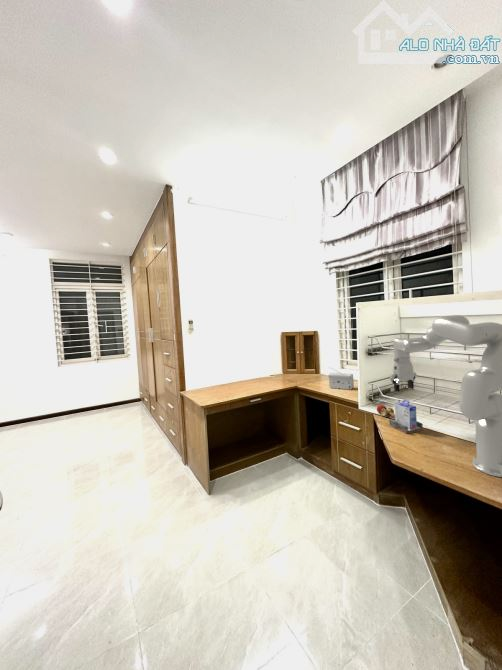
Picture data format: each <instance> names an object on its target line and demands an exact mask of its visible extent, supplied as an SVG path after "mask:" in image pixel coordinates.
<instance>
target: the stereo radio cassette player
mask: <svg viewBox="0 0 502 670" xmlns="http://www.w3.org/2000/svg"><path fill="white" fill-rule="evenodd" d="M328 368H330V369H332V370H333V371H335V372H330V373H328V374H327V376H328V386H329V387H328V388H330V389H337V388H340V389H339V390H348V389H351V390H353V389H354V387H355V385H354V384H355V383H354V382H355V381H354V374H352V373H342V372H340V371H338V370H336V369H335V368H332V367H330V366H329V367H328Z"/></svg>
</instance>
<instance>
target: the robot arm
mask: <svg viewBox="0 0 502 670" xmlns="http://www.w3.org/2000/svg"><path fill="white" fill-rule="evenodd" d="M431 324H432V325H431V326H430V327H428V328H427V329H426V334H425V335H424V336H419V337H413V338H407V337H397V338H394V339H393V341H392V342H393V356H394V359H393V361H394V362H393V370H392V371H393V373H392V375H391V376H389V379H390V382H391V383H392V384H393V391H395V392H400V388H401V387H400V382H405V381H407V388H409V389H412V390H413V389H414V388H415V385H414V382H415V379H416V378H417V377H416V376H417V373H416V372H414V366H413V363H412V361H411V354H414V353H419V352H425V351H429V350H431V349H434V348H436V347H438V346H439V345H440V344H442V342H445V341H447V340H448V341H451V342H453V343H456V344H460V345H462V346H467V347H473V346H474V347H475V346H480V345H481V346H482V345H487V346H486V347H485V350H483V353H482V354H481V362H480V367H479V368H478V369H472V370H469V371H467V372H466V373H465V374H464V375H463V376H462V378H461V384H460V393H459V401H458V404H459V409H460V412H461V414H462V415H463V416H464V417H465V418H466V419H468V420H471V421H475V442H476V444H475V445H476V447H475V449H476V457H475V458H473V459H472V461H471V463H472V466H473V467H474V468H475V469H476V470H478V471H480V472H481V473H484V474H486V475H489V476H493V477H498V478H502V394H501V393H498V392H500V391H502V324H501V323H498V322H494V321H493V322H491V321H489V322H487V321H486V322H479V323H471V324H470V321H469V318H467V317H466V316H463V315H461V314H460V315H457V314H456V315H447V316H440V317H437V318H436V319H435V320H433V323H431Z"/></svg>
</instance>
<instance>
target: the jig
mask: <svg viewBox="0 0 502 670" xmlns="http://www.w3.org/2000/svg"><path fill="white" fill-rule="evenodd" d="M388 421H389V426H390V427H391V428H394V429H396V430H397V431H400V432H402V433H404V434H406V435H409V434H412V433H417V432H422V431H423V430H424V427H423V423H422V422H419V421H417V428H413V429H408V427H407V426H404V425H402V424H400V423H398V422H396V421H395V420H393V419H389V420H388Z"/></svg>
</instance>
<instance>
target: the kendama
mask: <svg viewBox="0 0 502 670" xmlns="http://www.w3.org/2000/svg"><path fill="white" fill-rule="evenodd" d="M376 411H377V413H378V414H379V415H382V416H384V417H385V416H387V415H389V414H390V415H389V416H391V417H393V419H395V409H394V408H392V407H388V408H387V406H385V405H384V404H379V405H377V407H376Z"/></svg>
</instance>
